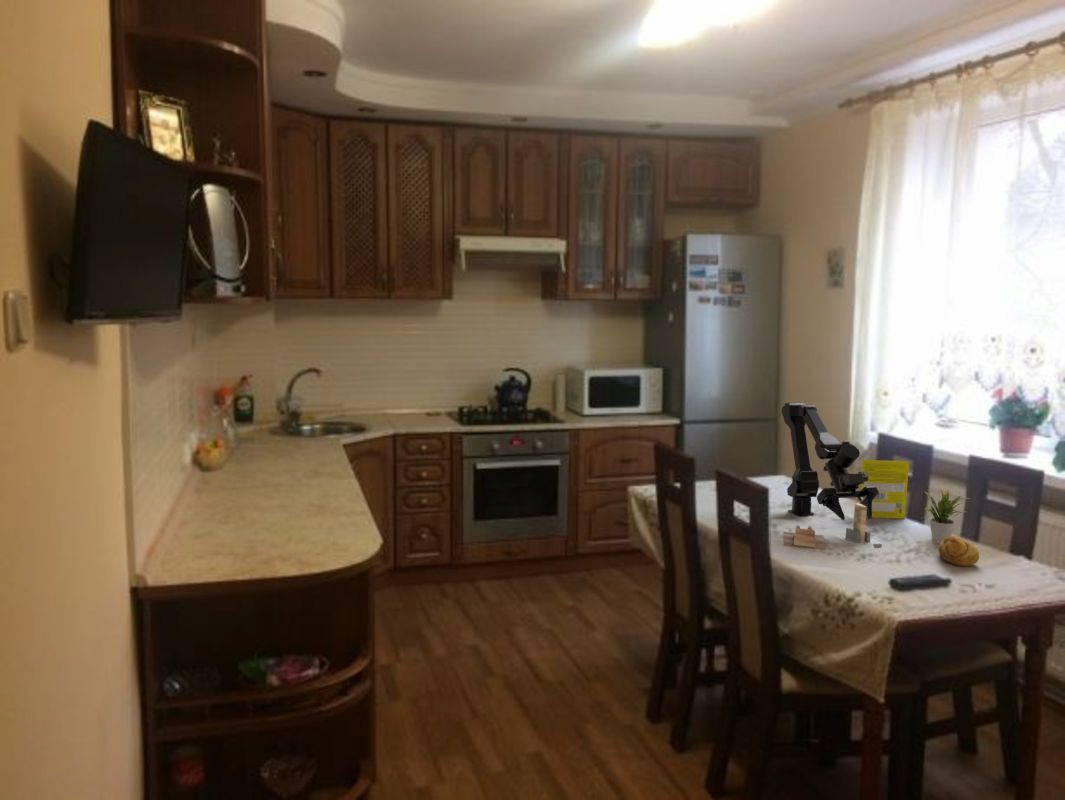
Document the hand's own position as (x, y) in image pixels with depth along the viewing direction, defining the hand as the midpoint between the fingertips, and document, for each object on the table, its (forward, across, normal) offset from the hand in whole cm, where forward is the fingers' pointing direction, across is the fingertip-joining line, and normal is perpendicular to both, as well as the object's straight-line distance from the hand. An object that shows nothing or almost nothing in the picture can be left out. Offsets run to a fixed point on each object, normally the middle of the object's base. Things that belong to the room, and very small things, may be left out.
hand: (857, 518), depth 257 cm
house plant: (+8, +28, +2) cm, 29 cm away
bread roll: (+21, +18, -10) cm, 29 cm away
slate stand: (+6, 0, +4) cm, 7 cm away
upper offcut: (+5, -19, +1) cm, 19 cm away
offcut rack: (+4, -17, +6) cm, 19 cm away
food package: (-11, +25, +22) cm, 35 cm away
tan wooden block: (+5, 0, +4) cm, 6 cm away
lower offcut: (+6, -19, +3) cm, 20 cm away
